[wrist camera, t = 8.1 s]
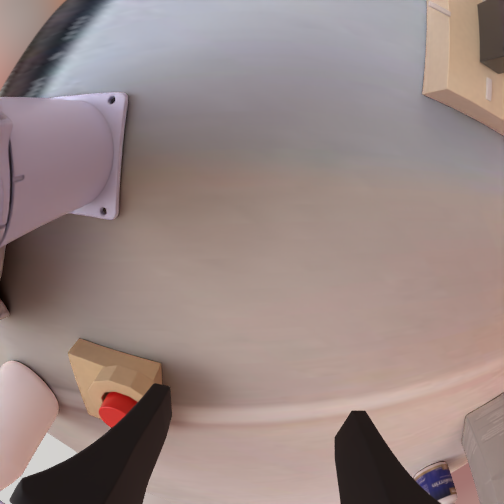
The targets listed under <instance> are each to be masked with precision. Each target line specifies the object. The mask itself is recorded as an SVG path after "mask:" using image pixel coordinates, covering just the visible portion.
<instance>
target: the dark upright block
mask: <svg viewBox="0 0 504 504" xmlns="http://www.w3.org/2000/svg"><path fill="white" fill-rule="evenodd" d="M477 8H478V20H479V38H480V62H481V63H482V64H484V65H485V66H487V67H488V68H490V69H492V70H493V71H494V72H496V73H497V74H501V73H504V0H485V1H483V2H481V3H479V4H477Z"/></svg>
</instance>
